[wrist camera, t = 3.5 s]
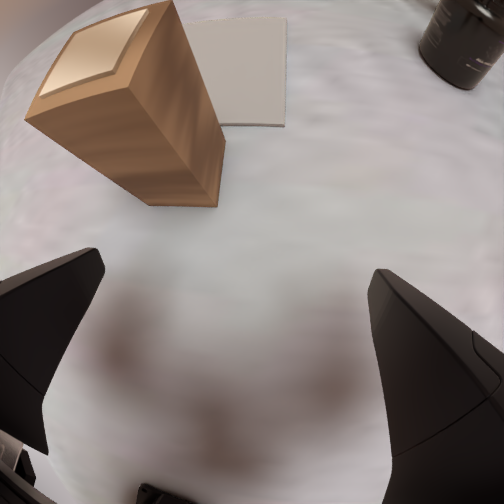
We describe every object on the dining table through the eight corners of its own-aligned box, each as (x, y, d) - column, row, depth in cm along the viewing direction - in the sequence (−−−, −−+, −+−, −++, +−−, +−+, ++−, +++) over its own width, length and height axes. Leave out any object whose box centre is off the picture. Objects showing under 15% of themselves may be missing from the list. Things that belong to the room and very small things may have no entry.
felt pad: (284, 126, 17) (284, 124, 16) (120, 133, 18) (118, 131, 18) (286, 20, 18) (286, 17, 18) (162, 30, 19) (161, 28, 19)
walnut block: (217, 207, 16) (124, 82, 5) (149, 205, 17) (20, 117, 6) (225, 141, 17) (170, -5, 6) (161, 143, 17) (71, 29, 6)
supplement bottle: (469, 103, 16) (534, 22, 4) (408, 55, 17) (449, -41, 5) (479, 74, 16) (528, 7, 4) (428, 34, 17) (461, -43, 5)
